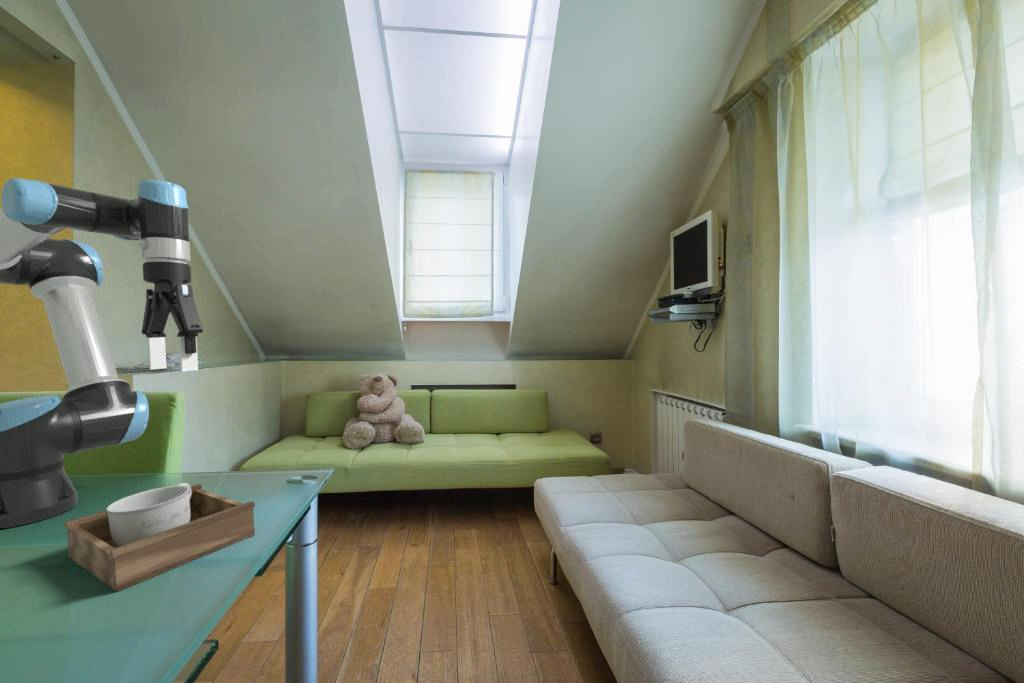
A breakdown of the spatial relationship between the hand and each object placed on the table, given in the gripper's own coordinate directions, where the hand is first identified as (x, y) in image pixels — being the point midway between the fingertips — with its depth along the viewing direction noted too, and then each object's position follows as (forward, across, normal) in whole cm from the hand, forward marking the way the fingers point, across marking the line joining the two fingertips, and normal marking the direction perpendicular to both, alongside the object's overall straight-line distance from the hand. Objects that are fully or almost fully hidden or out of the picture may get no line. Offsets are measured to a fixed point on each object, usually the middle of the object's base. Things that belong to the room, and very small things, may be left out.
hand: (173, 370), depth 88 cm
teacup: (+28, +12, -8) cm, 32 cm away
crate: (+29, +14, -8) cm, 33 cm away
